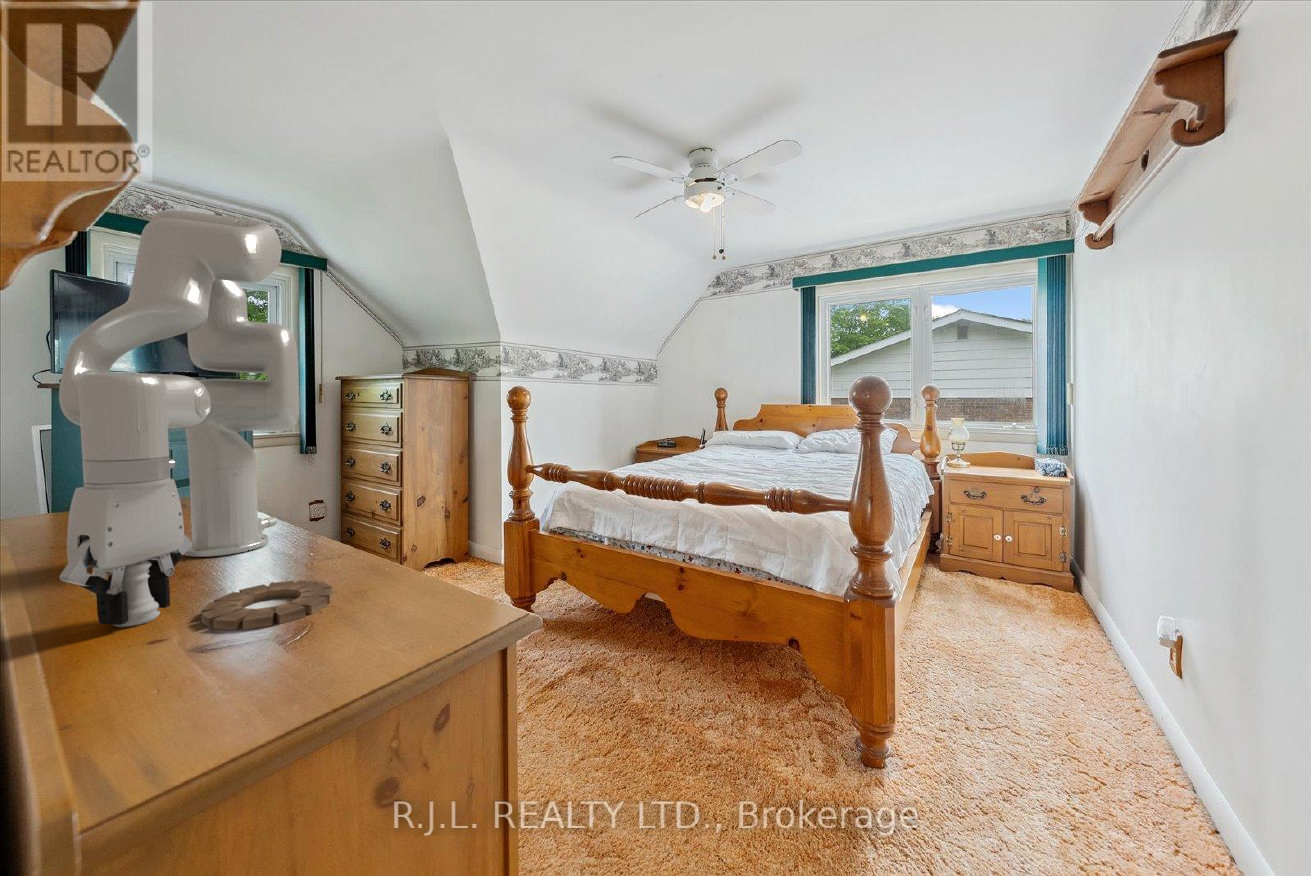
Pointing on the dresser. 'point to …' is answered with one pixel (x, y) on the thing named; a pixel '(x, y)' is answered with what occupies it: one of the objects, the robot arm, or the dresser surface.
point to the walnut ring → (234, 615)
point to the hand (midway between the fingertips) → (135, 613)
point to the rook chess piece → (138, 595)
